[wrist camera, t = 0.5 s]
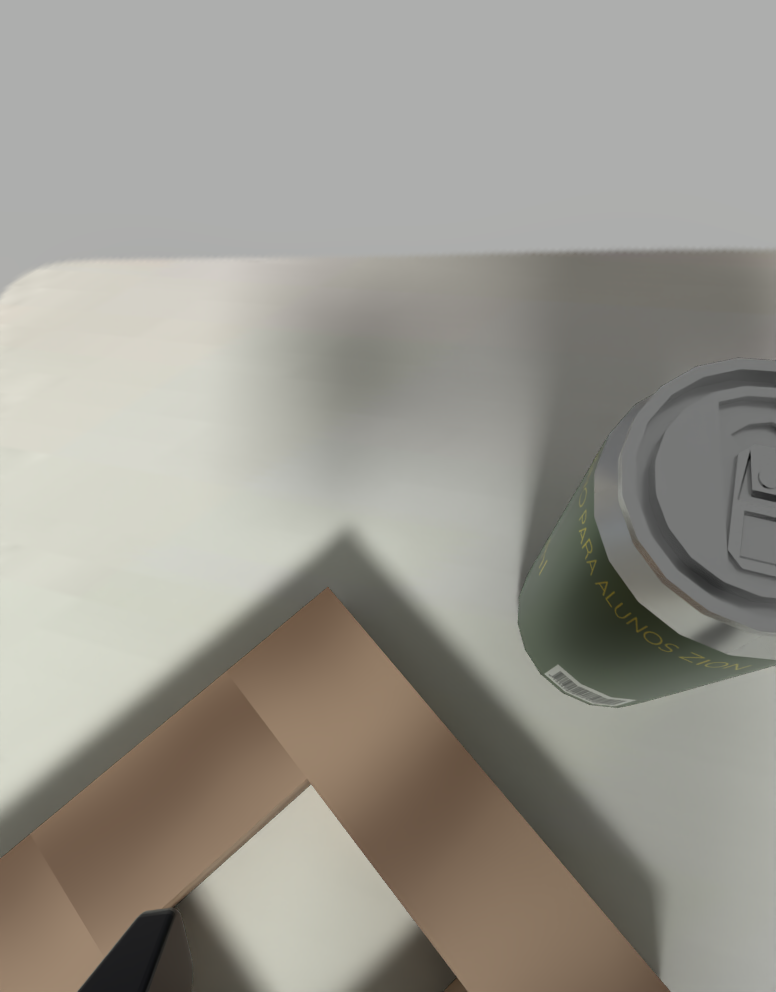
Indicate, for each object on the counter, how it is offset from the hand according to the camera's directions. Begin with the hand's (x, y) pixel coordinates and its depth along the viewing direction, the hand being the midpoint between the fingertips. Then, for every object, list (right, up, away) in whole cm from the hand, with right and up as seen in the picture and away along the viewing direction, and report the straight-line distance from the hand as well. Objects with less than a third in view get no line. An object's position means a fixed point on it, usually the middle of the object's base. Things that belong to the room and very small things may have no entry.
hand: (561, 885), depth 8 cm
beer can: (+5, 0, +15) cm, 16 cm away
